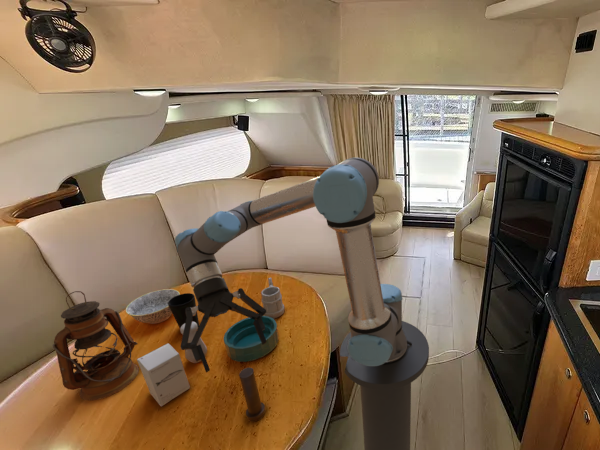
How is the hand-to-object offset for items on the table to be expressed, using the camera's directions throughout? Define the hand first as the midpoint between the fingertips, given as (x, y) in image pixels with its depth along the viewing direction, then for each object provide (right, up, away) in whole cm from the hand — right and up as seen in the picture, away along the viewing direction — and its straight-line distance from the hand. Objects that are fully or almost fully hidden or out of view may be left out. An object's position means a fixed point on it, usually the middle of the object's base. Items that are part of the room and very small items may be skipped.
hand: (237, 356), depth 79 cm
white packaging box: (-22, -13, +7) cm, 27 cm away
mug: (-7, 0, +41) cm, 42 cm away
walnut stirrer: (+4, -15, +1) cm, 16 cm away
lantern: (-42, -12, +11) cm, 45 cm away
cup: (-34, -3, +32) cm, 46 cm away
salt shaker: (-22, -9, +19) cm, 30 cm away
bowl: (-49, -1, +37) cm, 61 cm away
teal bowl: (-7, -6, +24) cm, 25 cm away
